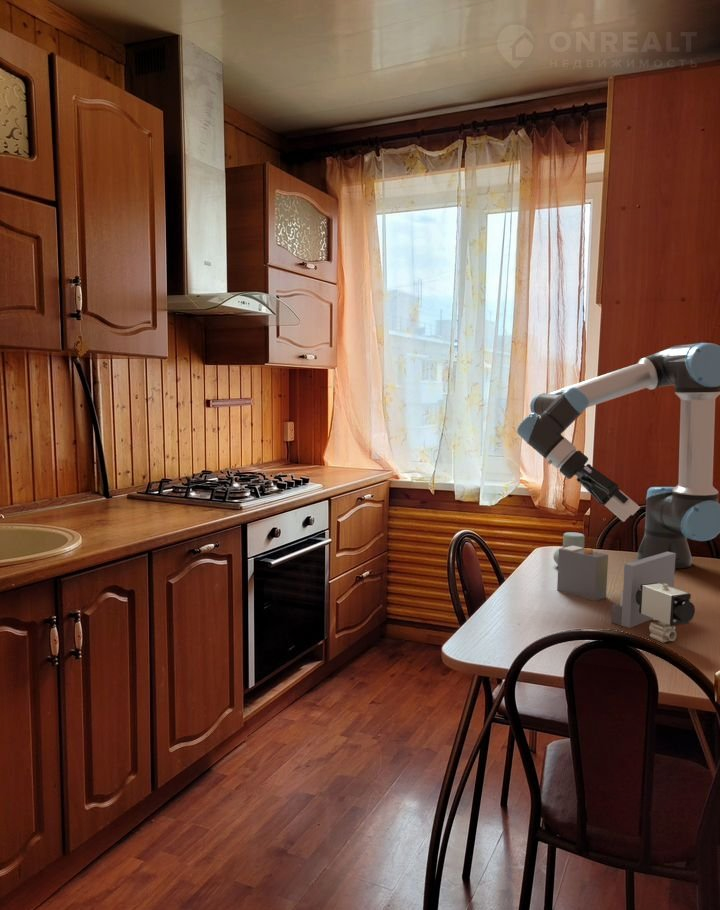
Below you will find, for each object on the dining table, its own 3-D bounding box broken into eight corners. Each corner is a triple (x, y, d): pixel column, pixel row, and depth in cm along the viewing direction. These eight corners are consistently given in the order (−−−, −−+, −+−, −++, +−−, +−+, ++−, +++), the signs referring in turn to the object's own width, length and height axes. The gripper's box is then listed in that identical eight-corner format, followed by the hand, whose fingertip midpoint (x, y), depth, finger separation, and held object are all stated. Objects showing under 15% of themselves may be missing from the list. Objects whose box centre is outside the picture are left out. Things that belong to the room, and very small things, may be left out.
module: (568, 587, 184) (570, 542, 183) (606, 597, 176) (608, 550, 175) (557, 590, 181) (559, 545, 180) (594, 601, 173) (597, 553, 171)
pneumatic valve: (676, 651, 141) (680, 593, 140) (632, 631, 152) (635, 577, 150) (696, 647, 143) (700, 590, 142) (651, 628, 154) (655, 575, 153)
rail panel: (653, 606, 169) (657, 549, 168) (672, 610, 166) (675, 553, 164) (611, 622, 157) (614, 561, 156) (629, 628, 154) (633, 565, 152)
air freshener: (562, 572, 198) (564, 538, 197) (548, 565, 206) (549, 531, 205) (597, 570, 201) (598, 536, 200) (581, 563, 209) (583, 530, 208)
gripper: (554, 478, 197) (614, 530, 191) (561, 460, 173) (629, 519, 167) (573, 459, 197) (633, 511, 191) (582, 438, 173) (651, 497, 167)
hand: (631, 515), depth 179 cm, fingers open, 13 cm apart
